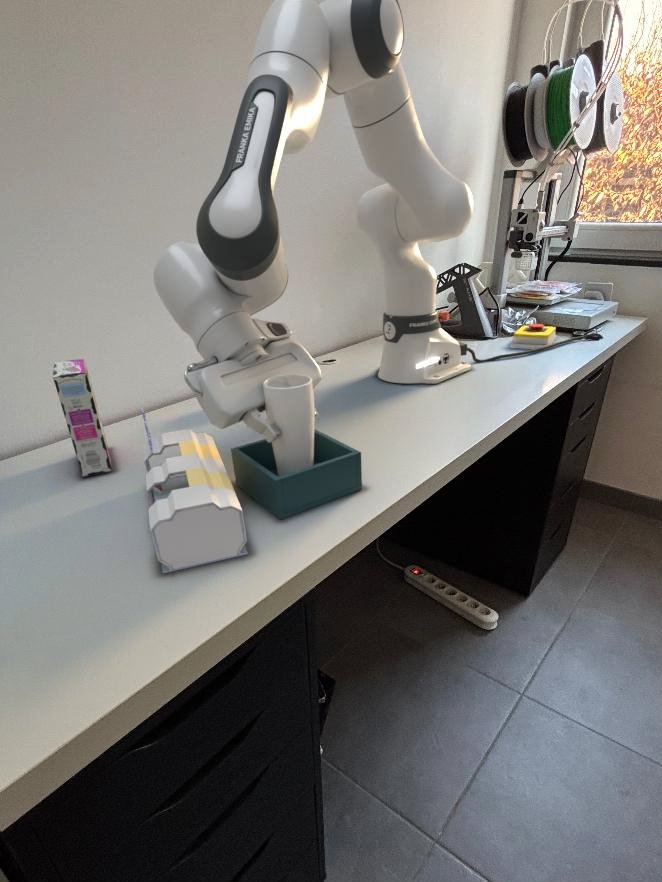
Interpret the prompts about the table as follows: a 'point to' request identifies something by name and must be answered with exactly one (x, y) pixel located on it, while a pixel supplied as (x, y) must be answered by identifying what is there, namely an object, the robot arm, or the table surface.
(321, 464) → the bin
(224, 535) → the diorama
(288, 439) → the drinking glass
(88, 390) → the candy bar box
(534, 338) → the emergency button
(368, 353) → the table surface
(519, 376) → the table surface
